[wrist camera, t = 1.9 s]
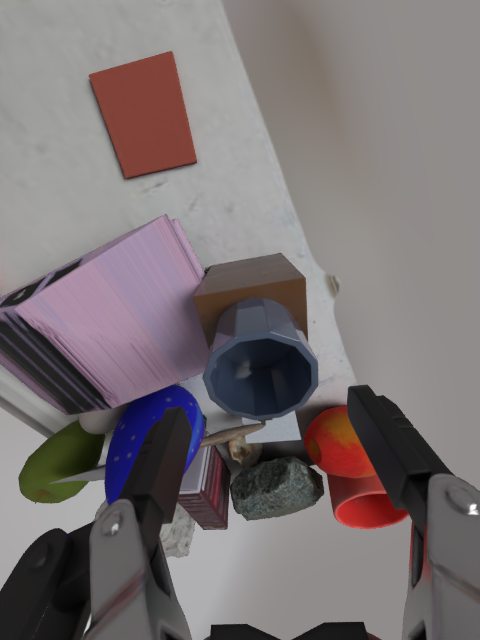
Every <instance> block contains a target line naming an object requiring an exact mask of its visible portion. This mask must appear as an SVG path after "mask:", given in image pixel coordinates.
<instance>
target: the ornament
mask: <svg viewBox="0 0 480 640" xmlns="http://www.w3.org/2000/svg"><path fill="white" fill-rule="evenodd" d="M179 406H182V407H183V408H184V410H185V412H186V415H187V417H188V419H189V422H190V424H191V427H192V439H191V444H190V448H189V452H188V457H187V461H186V465H185V470H184V474H185V473H186V471H187V469H188V468H189V466H190V464H191V462H192V461H193V459H194V457H195V455H196V454H197V452H198V449H199V447H200V445H201V442H202V440H203V436H204V430H205V423H204V418H203V415H202V412H201V410H200V407H199V405H198V403H197V401H196V399H195V398H194V397H193V395H192V394H191V393H189V392H188V391H187V390H186V389H184V388H182V387H180V386H177V385H170V386H168V387H165V388H163V389H160V390H158V391H155V392H153V393H150V394H148V395H145V396H143V397H140V398H138V399H135V400H134V401H133V402H132V403H131V404H130V405H129V407H128V408H127V409H126V411H125V412H124V413H123V415H122V417H121V418H120V420H119V422H118V424H117V426H116V429H115V431H114V434H113V437H112V439H111V442H110V446H109V450H108V455H107V460H106V467H105V493H106V501H107V504H108V506H109V505H110V504H112V503H113V502H115V501H116V500H117V498H118V497H119V495H120V493H121V490H122V488H123V486H124V484H125V481H126V479H127V477H128V475H129V472H130V470H131V468H132V465H133V463H134V461H135V459H136V456H137V455H138V452H139V450H140V447H141V445H143V441H144V438H145V436H146V434H147V431H148V430H149V429H150V428H151V426H152V425H153V424H154V423H155V421H158V420H161V418H162V416H163V413H164V411H165V409H166V408H170V407H179ZM184 474H183V476H184Z"/></svg>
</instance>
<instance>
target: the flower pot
mask: <svg viewBox="0 0 480 640" xmlns="http://www.w3.org/2000/svg"><path fill="white" fill-rule="evenodd" d="M327 478H328V485H329V491H330V497H331V503H332V508H333V513H334V516H335V518H336V520H337V521H339V522H340V523H342V524H343V525H346V526H349V527H352V528H359V529H376V528H382V527H386V526H390V525H393V524H396V523H398V522H400V521H402V520H404V519H405V518H407V517H408V516H409V513H408V512H407V510H406V509H403V510H395V508H394V506H393V504H392V502H391V500H390V499H389V497H388V495H387V493H386V491H385V489H384V487H383V485H382V483H381V481H380V479H379V477H378V475H377V474H375V475H373V476H370V477H362V478H348V477H342V476H337V475H331V474H327Z"/></svg>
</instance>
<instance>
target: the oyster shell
mask: <svg viewBox="0 0 480 640" xmlns="http://www.w3.org/2000/svg"><path fill="white" fill-rule="evenodd" d="M262 447H263V444H262V443H247V444H246V439H245V436H242V437H239V438H237V439H234V440H231V441H230V442H229V445H228V448H229V455H230V456H231V457H232V460H233V459H234V460H237V461H238V463H239V464H240V466H241V467H242V468H245V467H246V466H252V465H256V464H257V461H258V460H259V459H258V458H259V456H260V455H261V453H262V452H263V449H262Z"/></svg>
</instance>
